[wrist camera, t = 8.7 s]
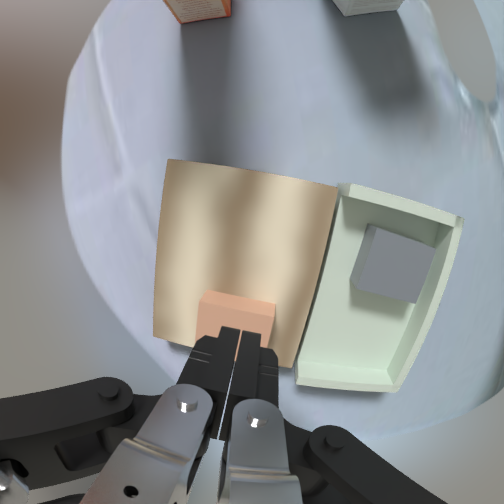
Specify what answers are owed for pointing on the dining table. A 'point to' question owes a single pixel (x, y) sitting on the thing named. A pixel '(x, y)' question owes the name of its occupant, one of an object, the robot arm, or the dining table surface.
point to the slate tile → (391, 264)
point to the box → (371, 296)
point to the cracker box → (198, 9)
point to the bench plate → (239, 247)
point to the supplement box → (366, 6)
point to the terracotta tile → (234, 315)
